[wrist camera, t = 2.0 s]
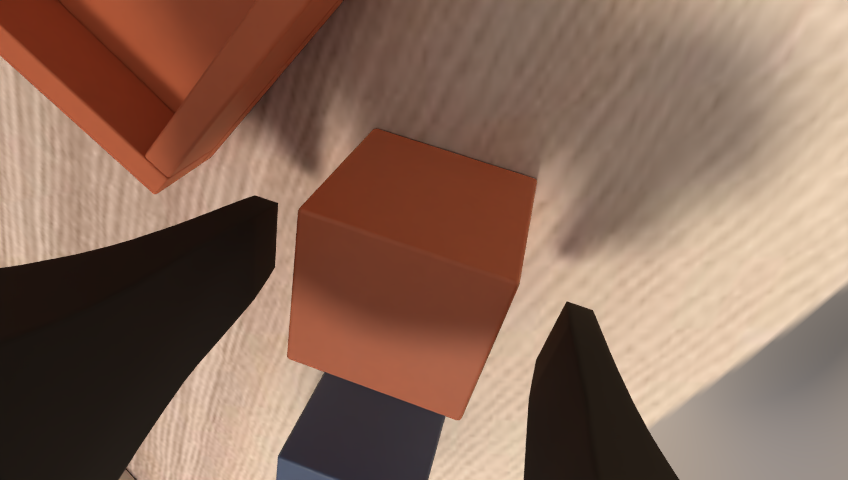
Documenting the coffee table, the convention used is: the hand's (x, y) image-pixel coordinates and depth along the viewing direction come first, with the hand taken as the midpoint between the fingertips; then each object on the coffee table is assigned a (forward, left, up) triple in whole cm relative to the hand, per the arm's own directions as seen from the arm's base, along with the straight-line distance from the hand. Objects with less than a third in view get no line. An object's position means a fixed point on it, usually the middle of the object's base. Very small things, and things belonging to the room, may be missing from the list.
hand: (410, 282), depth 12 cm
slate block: (-8, -5, -3) cm, 9 cm away
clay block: (0, 0, -3) cm, 3 cm away
